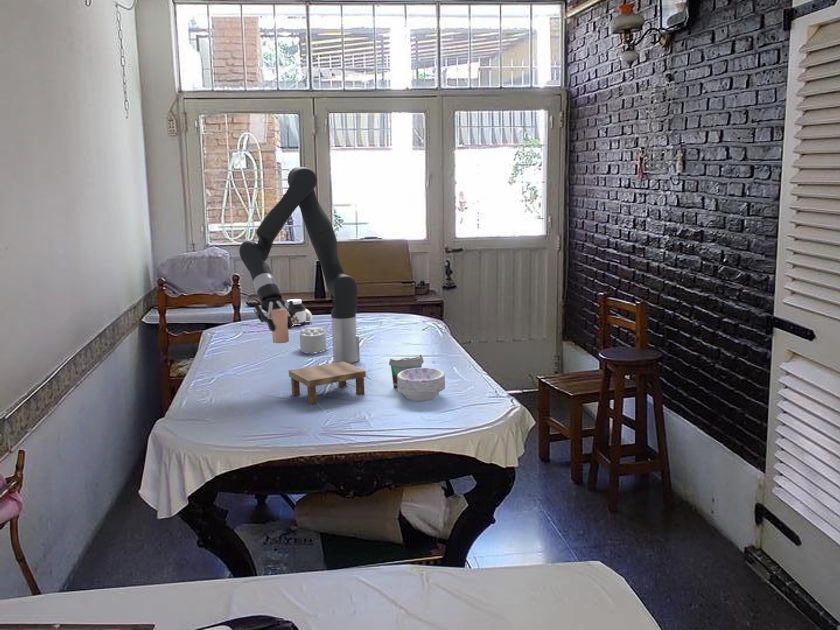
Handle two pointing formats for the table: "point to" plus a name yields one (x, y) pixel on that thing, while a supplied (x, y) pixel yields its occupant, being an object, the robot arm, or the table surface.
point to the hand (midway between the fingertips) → (282, 328)
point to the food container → (404, 366)
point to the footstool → (326, 378)
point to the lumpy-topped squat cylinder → (312, 340)
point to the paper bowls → (421, 383)
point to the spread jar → (299, 312)
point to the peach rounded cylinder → (280, 325)
